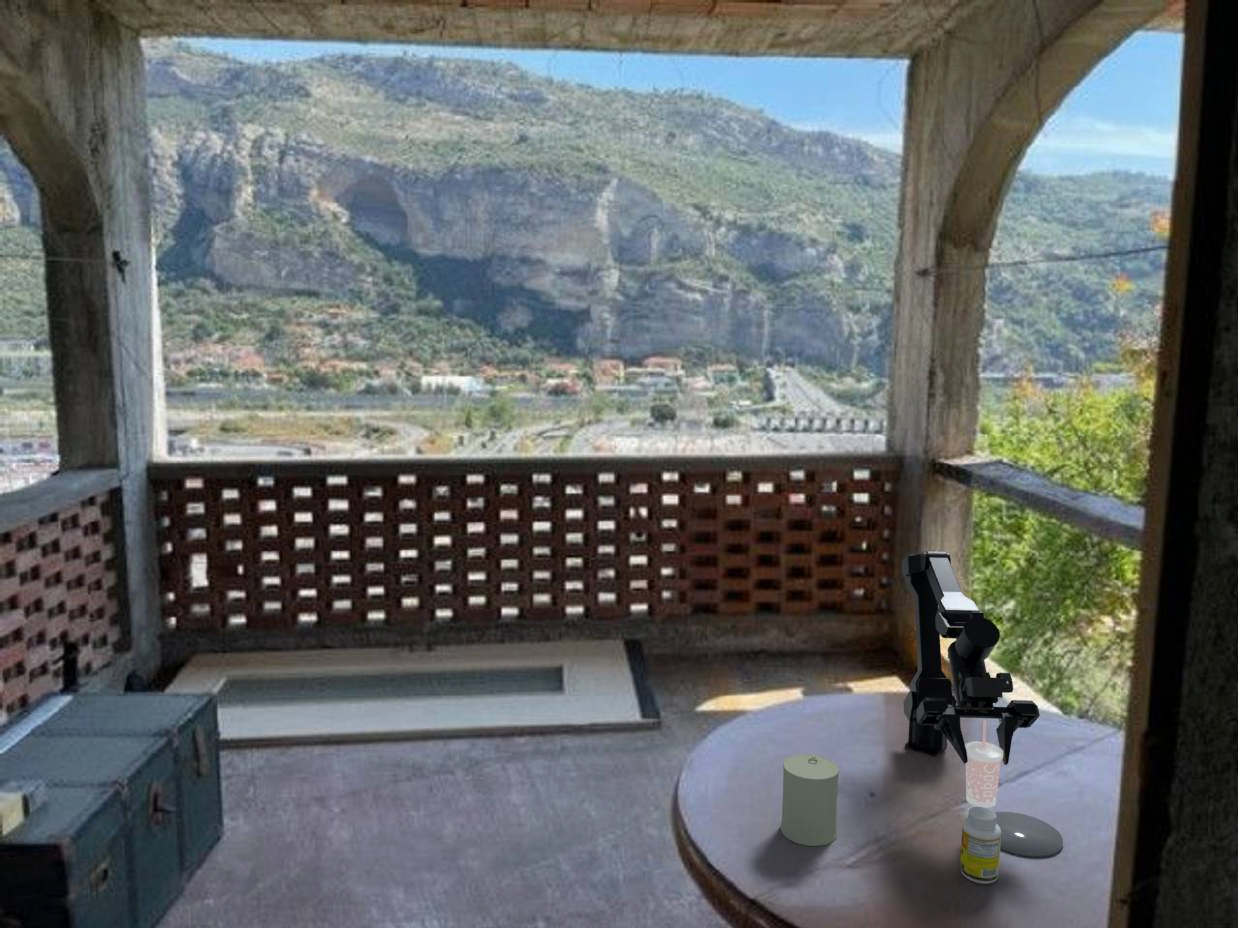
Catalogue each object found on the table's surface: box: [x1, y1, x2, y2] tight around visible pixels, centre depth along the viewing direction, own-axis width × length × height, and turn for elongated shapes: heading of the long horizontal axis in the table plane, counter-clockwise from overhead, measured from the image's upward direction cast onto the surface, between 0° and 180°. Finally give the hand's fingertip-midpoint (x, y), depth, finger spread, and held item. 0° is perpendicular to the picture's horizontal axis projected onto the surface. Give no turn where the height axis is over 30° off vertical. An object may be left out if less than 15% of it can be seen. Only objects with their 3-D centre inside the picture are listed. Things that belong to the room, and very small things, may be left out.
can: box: [780, 753, 840, 847], centre depth 153 cm, size 9×9×12 cm
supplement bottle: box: [959, 806, 1001, 885], centre depth 141 cm, size 6×6×10 cm
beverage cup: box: [965, 719, 1003, 809], centre depth 151 cm, size 6×6×14 cm
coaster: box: [994, 811, 1064, 858], centre depth 153 cm, size 13×13×1 cm
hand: (986, 763), depth 150 cm, fingers closed on beverage cup, 6 cm apart
